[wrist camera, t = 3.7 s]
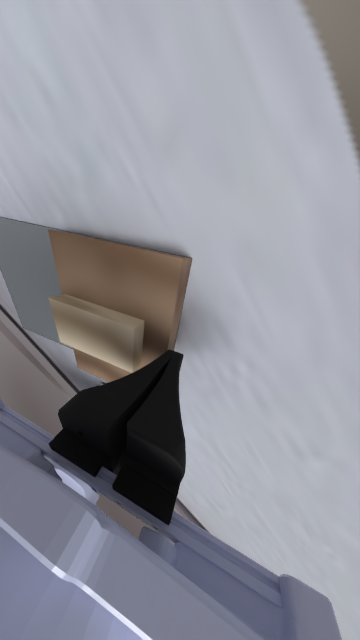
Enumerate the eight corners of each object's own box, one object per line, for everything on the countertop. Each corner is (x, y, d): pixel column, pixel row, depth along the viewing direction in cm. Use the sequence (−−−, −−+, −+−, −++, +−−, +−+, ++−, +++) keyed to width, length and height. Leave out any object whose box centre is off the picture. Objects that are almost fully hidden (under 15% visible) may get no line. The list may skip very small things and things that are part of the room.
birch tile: (141, 362, 14) (132, 373, 13) (73, 335, 16) (60, 341, 15) (144, 320, 12) (134, 328, 11) (65, 294, 14) (48, 297, 13)
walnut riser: (166, 387, 19) (157, 405, 16) (93, 356, 21) (77, 367, 19) (192, 258, 11) (183, 258, 9) (76, 233, 14) (47, 229, 12)
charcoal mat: (90, 355, 21) (89, 356, 21) (25, 326, 24) (23, 327, 24) (72, 232, 14) (69, 232, 14) (-19, 213, 17) (-22, 212, 16)
